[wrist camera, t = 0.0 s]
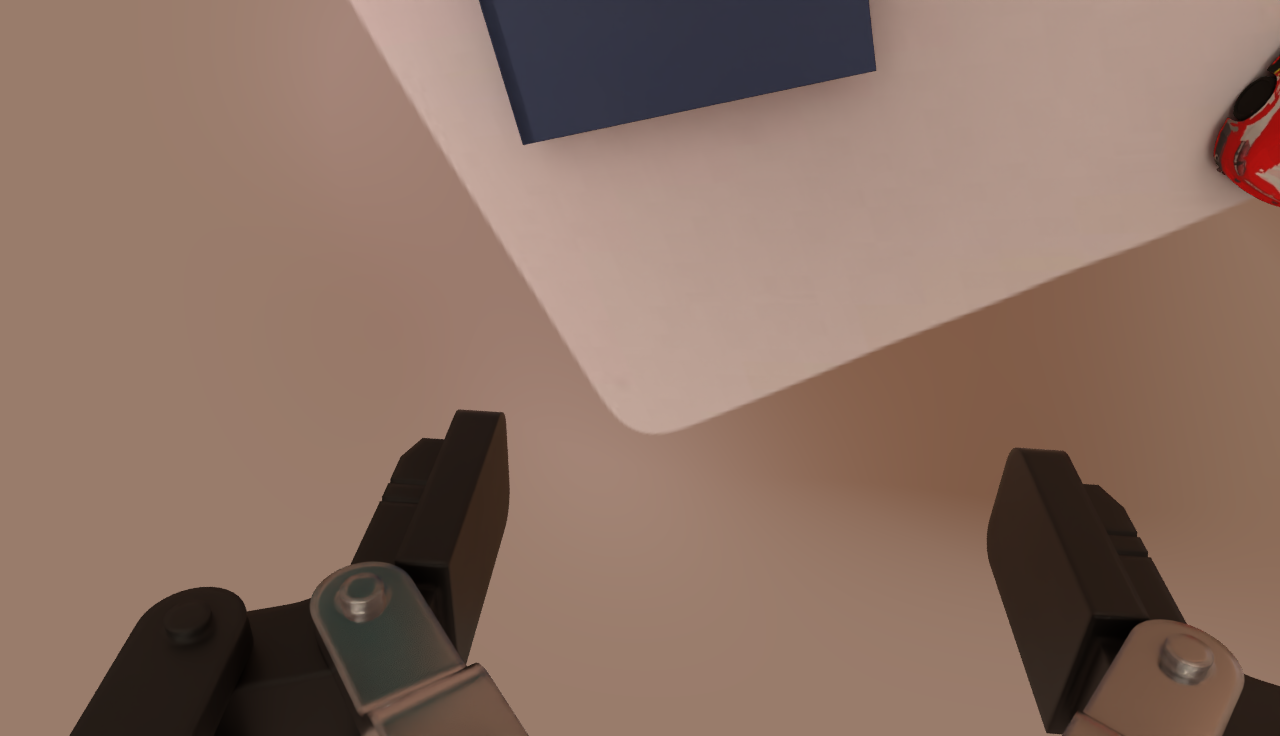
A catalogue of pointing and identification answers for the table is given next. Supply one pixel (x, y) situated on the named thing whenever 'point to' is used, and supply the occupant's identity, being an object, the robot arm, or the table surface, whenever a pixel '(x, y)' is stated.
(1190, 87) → the table surface
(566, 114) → the book
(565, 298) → the table surface
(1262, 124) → the race car
